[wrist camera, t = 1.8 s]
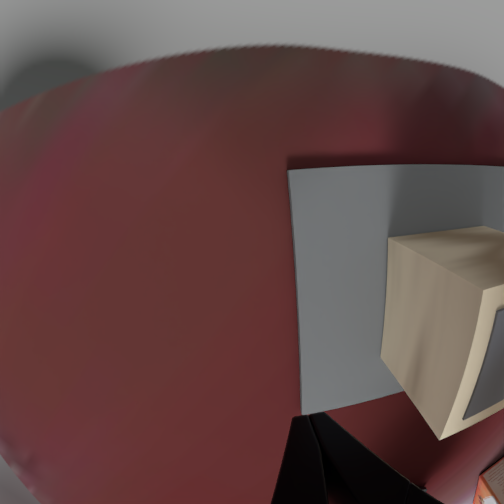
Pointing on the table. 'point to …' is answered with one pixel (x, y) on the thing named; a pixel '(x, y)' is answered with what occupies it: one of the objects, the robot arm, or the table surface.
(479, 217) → the mat
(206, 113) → the table surface
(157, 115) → the table surface
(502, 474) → the cracker box
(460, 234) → the birch cube
